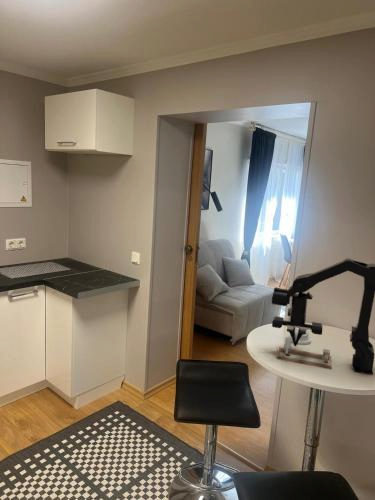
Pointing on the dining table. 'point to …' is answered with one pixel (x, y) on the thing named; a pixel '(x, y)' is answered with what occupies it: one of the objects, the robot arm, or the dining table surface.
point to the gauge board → (306, 357)
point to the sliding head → (287, 345)
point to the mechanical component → (302, 338)
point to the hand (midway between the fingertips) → (295, 345)
